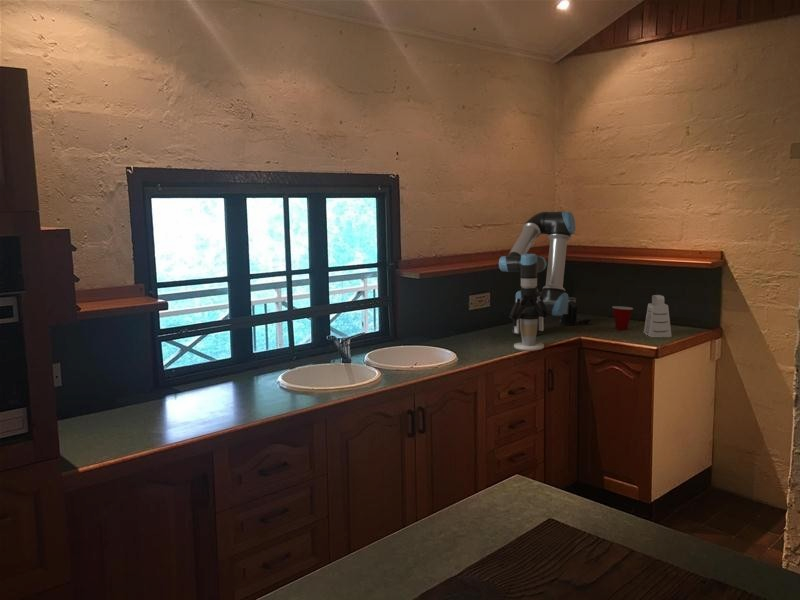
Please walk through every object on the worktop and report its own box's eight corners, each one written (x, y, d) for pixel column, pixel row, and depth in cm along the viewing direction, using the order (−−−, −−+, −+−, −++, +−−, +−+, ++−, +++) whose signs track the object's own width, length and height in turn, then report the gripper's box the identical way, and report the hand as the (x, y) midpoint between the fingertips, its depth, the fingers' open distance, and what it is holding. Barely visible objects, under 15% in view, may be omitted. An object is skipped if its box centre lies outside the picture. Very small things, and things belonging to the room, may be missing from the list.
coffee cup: (524, 342, 332) (524, 311, 330) (542, 344, 326) (542, 313, 324) (515, 345, 325) (515, 314, 323) (533, 347, 319) (533, 315, 317)
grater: (650, 337, 342) (651, 297, 339) (643, 333, 352) (644, 294, 350) (671, 336, 342) (672, 296, 339) (664, 332, 352) (665, 294, 349)
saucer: (508, 348, 325) (508, 345, 324) (523, 343, 335) (523, 340, 335) (534, 351, 316) (534, 349, 315) (549, 346, 326) (549, 343, 326)
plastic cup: (637, 329, 363) (637, 307, 361) (620, 331, 359) (621, 308, 357) (623, 326, 373) (623, 304, 371) (607, 328, 369) (607, 306, 367)
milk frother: (555, 323, 387) (555, 297, 385) (577, 320, 394) (577, 295, 392) (573, 327, 375) (573, 300, 373) (594, 324, 382) (595, 298, 380)
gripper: (510, 289, 313) (510, 335, 316) (555, 286, 323) (555, 330, 326) (501, 288, 320) (501, 332, 323) (546, 284, 330) (546, 328, 332)
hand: (528, 331), depth 324 cm, fingers open, 13 cm apart
